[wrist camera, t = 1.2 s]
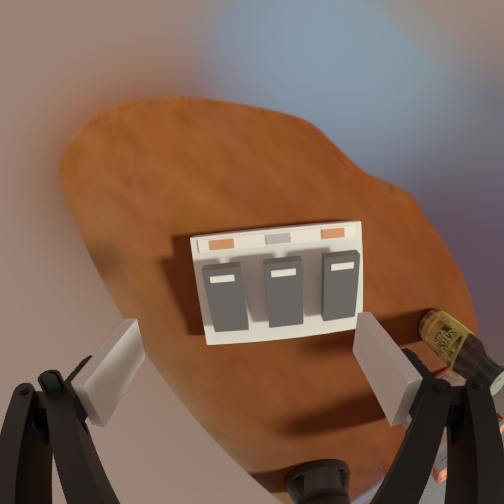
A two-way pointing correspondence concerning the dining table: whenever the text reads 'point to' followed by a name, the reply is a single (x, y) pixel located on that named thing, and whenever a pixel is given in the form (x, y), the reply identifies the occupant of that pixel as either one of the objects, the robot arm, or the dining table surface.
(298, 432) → the dining table surface
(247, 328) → the switch
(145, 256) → the dining table surface
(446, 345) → the sauce bottle
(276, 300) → the switch middle
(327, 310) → the switch
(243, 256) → the switch panel
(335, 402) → the dining table surface
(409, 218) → the dining table surface
